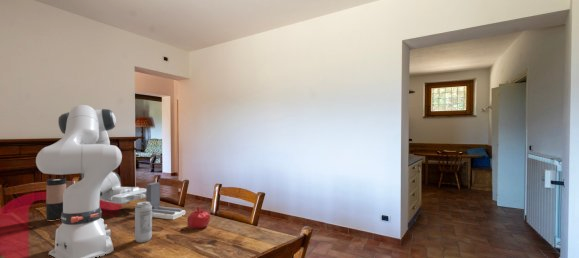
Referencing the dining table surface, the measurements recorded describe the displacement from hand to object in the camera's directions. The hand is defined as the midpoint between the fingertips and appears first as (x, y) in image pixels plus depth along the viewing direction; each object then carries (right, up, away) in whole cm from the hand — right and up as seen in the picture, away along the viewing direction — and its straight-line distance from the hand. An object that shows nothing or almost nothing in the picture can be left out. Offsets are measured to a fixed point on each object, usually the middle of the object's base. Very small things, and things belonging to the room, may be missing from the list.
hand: (143, 196), depth 146 cm
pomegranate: (+37, -9, -21) cm, 44 cm away
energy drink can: (+20, -8, -37) cm, 43 cm away
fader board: (+13, -8, -4) cm, 16 cm away
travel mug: (-37, -9, -11) cm, 40 cm away
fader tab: (+6, -6, -2) cm, 9 cm away
